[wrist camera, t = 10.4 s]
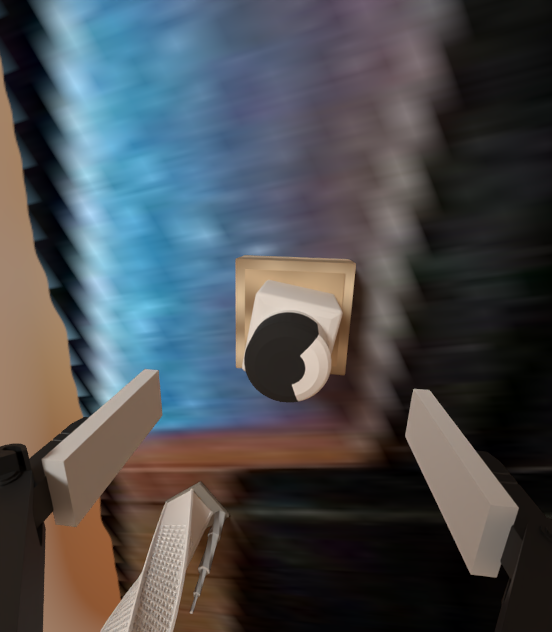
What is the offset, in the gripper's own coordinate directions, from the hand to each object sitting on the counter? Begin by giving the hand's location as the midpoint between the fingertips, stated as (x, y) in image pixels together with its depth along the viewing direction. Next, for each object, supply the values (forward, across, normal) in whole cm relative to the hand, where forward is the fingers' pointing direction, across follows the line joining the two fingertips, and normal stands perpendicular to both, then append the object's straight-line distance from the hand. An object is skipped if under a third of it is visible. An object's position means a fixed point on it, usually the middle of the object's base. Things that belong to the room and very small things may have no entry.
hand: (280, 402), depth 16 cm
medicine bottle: (+17, 0, 0) cm, 17 cm away
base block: (+22, 0, -1) cm, 22 cm away
